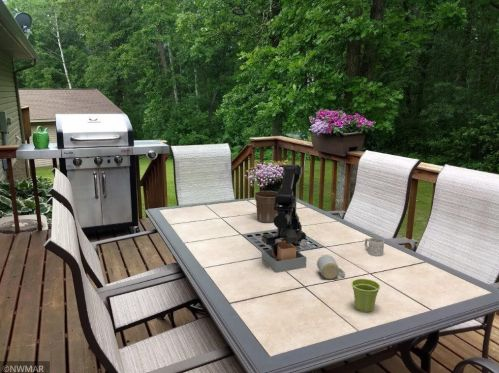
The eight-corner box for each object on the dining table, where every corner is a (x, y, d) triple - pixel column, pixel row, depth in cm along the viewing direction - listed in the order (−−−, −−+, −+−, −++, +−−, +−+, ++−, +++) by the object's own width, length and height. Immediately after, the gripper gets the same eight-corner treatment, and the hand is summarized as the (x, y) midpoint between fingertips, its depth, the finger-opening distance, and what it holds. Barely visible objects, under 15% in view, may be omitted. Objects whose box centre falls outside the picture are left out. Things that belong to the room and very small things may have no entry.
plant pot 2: (346, 301, 140) (347, 278, 138) (372, 300, 140) (373, 277, 139) (355, 315, 130) (356, 291, 129) (383, 314, 131) (385, 290, 129)
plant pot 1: (286, 219, 237) (286, 192, 234) (273, 226, 224) (273, 198, 221) (262, 215, 246) (263, 189, 242) (249, 221, 233) (248, 194, 229)
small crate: (286, 253, 177) (286, 240, 176) (295, 260, 169) (296, 247, 168) (271, 255, 174) (272, 242, 173) (281, 263, 166) (281, 249, 165)
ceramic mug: (321, 280, 156) (322, 262, 154) (316, 271, 164) (317, 254, 162) (347, 280, 157) (349, 261, 155) (341, 271, 165) (342, 254, 163)
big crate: (290, 256, 181) (290, 245, 180) (306, 268, 168) (306, 257, 167) (262, 260, 176) (262, 250, 175) (276, 273, 163) (276, 262, 162)
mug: (386, 254, 182) (387, 241, 181) (376, 257, 179) (377, 243, 178) (369, 247, 191) (370, 234, 189) (359, 250, 187) (360, 237, 186)
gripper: (272, 229, 157) (272, 266, 161) (313, 224, 164) (312, 259, 168) (261, 221, 167) (261, 256, 171) (300, 216, 174) (299, 250, 178)
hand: (283, 255), depth 171 cm, fingers closed on small crate, 7 cm apart
